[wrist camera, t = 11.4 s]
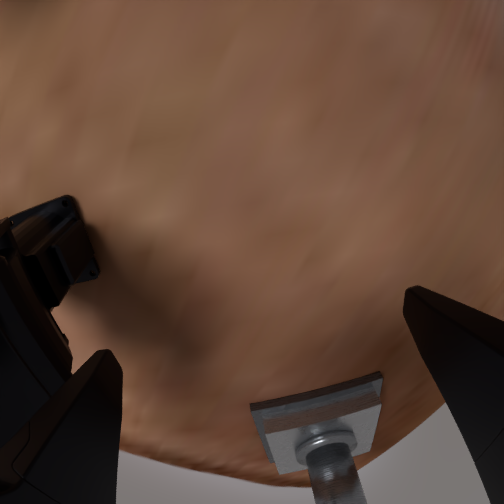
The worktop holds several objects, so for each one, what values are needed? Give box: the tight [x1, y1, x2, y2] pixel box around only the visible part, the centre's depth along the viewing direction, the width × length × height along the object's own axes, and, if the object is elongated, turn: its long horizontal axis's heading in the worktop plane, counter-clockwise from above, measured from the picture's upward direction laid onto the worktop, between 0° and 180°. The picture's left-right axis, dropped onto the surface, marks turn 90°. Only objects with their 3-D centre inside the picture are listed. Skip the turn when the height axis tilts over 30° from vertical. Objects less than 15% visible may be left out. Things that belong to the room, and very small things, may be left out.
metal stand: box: [250, 371, 383, 475], centre depth 31 cm, size 14×14×4 cm
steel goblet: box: [295, 430, 367, 504], centre depth 24 cm, size 7×7×14 cm
